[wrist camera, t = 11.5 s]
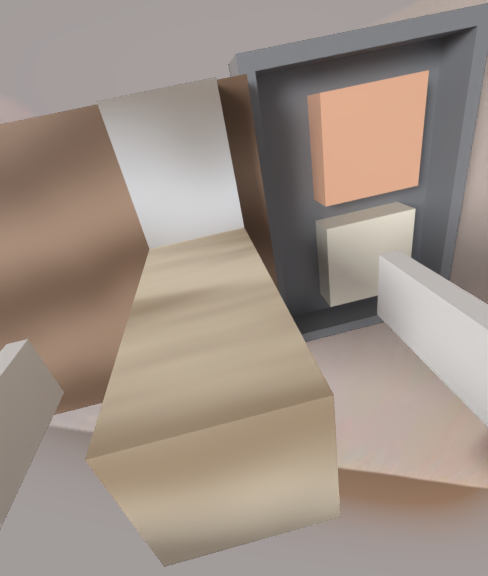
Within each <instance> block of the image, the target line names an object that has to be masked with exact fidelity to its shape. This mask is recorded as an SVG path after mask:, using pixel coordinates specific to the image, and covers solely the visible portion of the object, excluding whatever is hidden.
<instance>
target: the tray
mask: <svg viewBox="0 0 488 576" xmlns="http://www.w3.org/2000/svg"><path fill="white" fill-rule="evenodd" d="M487 53H488V3H486V4H481V5H476V6H471V7H466V8H461V9H456V10H451V11H447V12H442V13H437V14H432V15H427V16H422V17H417V18H412V19H407V20H402V21H397V22H392V23H387V24H382V25H377V26H372V27H367V28H362V29H357V30H352V31H347V32H343V33H338V34H333V35H328V36H323V37H318V38H313V39H308V40H303V41H298V42H293V43H288V44H283V45H278V46H274V47H268V48H264V49H258V50H253V51H249V52H244V53H238V54H235V56H234V57H233V59H232V60H231V62H230V63H229V71H230V77H234V76H238V75H243V74H247V80H248V87H249V93H250V100H251V107H252V114H253V120H254V127H255V134H256V141H257V147H258V154H259V161H260V168H261V175H262V181H263V188H264V195H265V202H266V208H267V215H268V222H269V229H270V235H271V242H272V249H273V256H274V263H275V269H276V276H277V283H278V290H279V293H280V295H281V297H282V299H283V301H284V303H285V305H286V307H287V308H288V310H289V312H290V314H291V316H292V318H293V320H294V322H295V323H296V325H297V327H298V329H299V331H300V333H301V335H302V337H303V338H304V340H305V342H307V341H311V340H315V339H319V338H323V337H327V336H331V335H335V334H339V333H343V332H347V331H351V330H355V329H359V328H363V327H366V326H370V325H374V324H378V323H382V322H384V321H383V320H382V319H381V318H380V317H379V316H378V315H377V304H378V295H377V296H373V297H369V298H365V299H361V300H357V301H353V302H349V303H345V304H341V305H337V306H333V307H330V306H329V304H328V303H327V302H326V300H325V299H324V298H323V296H322V295H321V294H320V280H319V266H318V251H317V236H316V222H315V221H316V220H321V219H325V218H329V217H334V216H338V215H342V214H347V213H351V212H355V211H360V210H364V209H368V208H373V207H377V206H381V205H385V204H390V203H394V202H399V203H402V204H405V205H407V206H410V207H413V208H415V209H416V210H415V220H414V231H413V241H412V252H411V258H412V259H414V260H416V261H417V262H419V263H420V264H422V265H424V266H425V267H427V268H429V269H430V270H432V271H434V272H435V273H437V274H439V275H440V276H442V277H444V278H445V279H447V280H449V279H450V273H451V267H452V261H453V255H454V249H455V243H456V237H457V231H458V225H459V219H460V213H461V207H462V201H463V195H464V190H465V184H466V178H467V172H468V166H469V160H470V154H471V148H472V142H473V136H474V130H475V124H476V118H477V112H478V106H479V100H480V94H481V88H482V82H483V76H484V71H485V65H486V59H487ZM427 70H429V76H428V86H427V97H426V107H425V118H424V128H423V138H422V149H421V159H420V170H419V180H418V186H414V187H410V188H405V189H401V190H396V191H392V192H388V193H383V194H379V195H375V196H370V197H366V198H362V199H357V200H353V201H348V202H344V203H340V204H335V205H331V206H327V207H325V206H324V205H322V204H321V203H319V202H317V201H316V200H314V190H313V175H312V161H311V146H310V131H309V117H308V102H307V96H308V95H313V94H317V93H322V92H327V91H332V90H336V89H341V88H346V87H351V86H355V85H360V84H365V83H370V82H375V81H379V80H384V79H389V78H394V77H398V76H403V75H408V74H413V73H417V72H422V71H427Z"/></svg>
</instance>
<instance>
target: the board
mask: <svg viewBox="0 0 488 576" xmlns="http://www.w3.org/2000/svg"><path fill="white" fill-rule="evenodd" d="M217 85H218V90H219V95H220V101H221V106H222V111H223V117H224V122H225V127H226V133H227V138H228V143H229V149H230V154H231V159H232V165H233V170H234V175H235V181H236V186H237V191H238V197H239V202H240V207H241V213H242V218H243V223H244V228H245V230H246V232H247V234H248V235H249V237H250V239H251V241H252V243H253V245H254V247H255V249H256V250H257V252H258V254H259V256H260V258H261V260H262V262H263V263H264V265H265V267H266V269H267V271H268V273H269V275H270V277H271V278H272V280H273V282H274V284H275V286H276V288H277V290H278V283H277V276H276V269H275V263H274V256H273V249H272V242H271V235H270V229H269V222H268V215H267V208H266V202H265V195H264V188H263V181H262V175H261V168H260V161H259V154H258V147H257V141H256V134H255V127H254V120H253V114H252V107H251V100H250V93H249V87H248V80H247V74H243V75H238V76H234V77H229V78H224V79H219V80H217ZM148 252H149V246H148V244H147V241H146V238H145V235H144V232H143V230H142V227H141V224H140V221H139V218H138V216H137V213H136V210H135V207H134V204H133V202H132V199H131V196H130V193H129V191H128V188H127V185H126V182H125V179H124V177H123V174H122V171H121V168H120V165H119V163H118V160H117V157H116V154H115V151H114V149H113V146H112V143H111V140H110V138H109V135H108V132H107V129H106V126H105V124H104V121H103V118H102V115H101V112H100V110H99V107H98V104H97V105H92V106H87V107H83V108H78V109H73V110H68V111H63V112H58V113H54V114H49V115H44V116H39V117H34V118H29V119H24V120H19V121H14V122H10V123H5V124H0V351H1V350H2V349H3V348H4V346H5V345H6V344H9V343H13V342H18V341H22V340H26V339H28V340H29V341H30V343H31V344H32V346H33V347H34V349H35V350H36V352H37V353H38V354H39V356H40V357H41V359H42V360H43V362H44V363H45V365H46V366H47V368H48V369H49V371H50V372H51V374H52V375H53V377H54V378H55V380H56V381H57V383H58V384H59V386H60V387H61V389H62V390H63V392H64V394H63V396H62V398H61V400H60V402H59V405H58V407H57V409H56V411H55V413H54V415H56V414H59V413H63V412H67V411H71V410H75V409H79V408H83V407H87V406H91V405H95V404H99V403H103V400H104V396H105V393H106V390H107V387H108V383H109V380H110V377H111V373H112V370H113V367H114V364H115V360H116V357H117V354H118V351H119V347H120V344H121V341H122V337H123V334H124V331H125V328H126V324H127V321H128V318H129V315H130V311H131V308H132V305H133V301H134V298H135V295H136V292H137V288H138V285H139V282H140V279H141V275H142V272H143V269H144V265H145V262H146V259H147V256H148ZM278 292H279V290H278Z"/></svg>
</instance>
